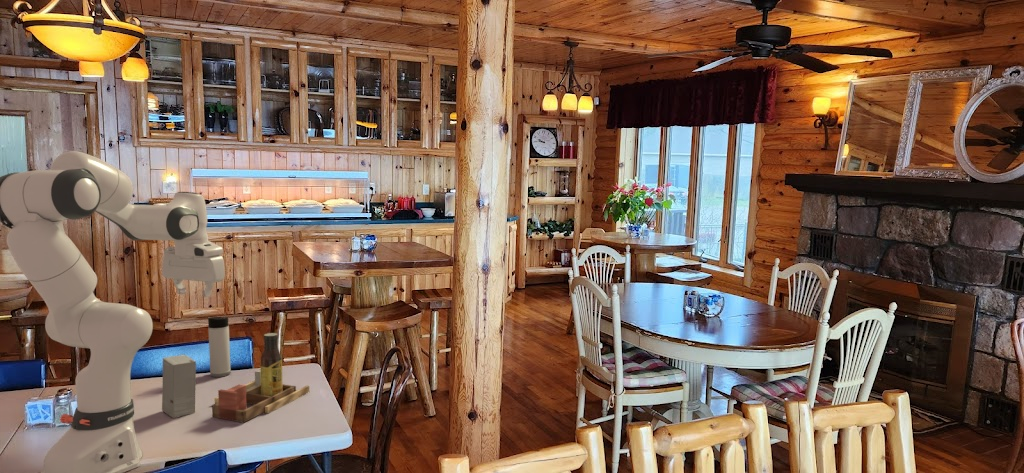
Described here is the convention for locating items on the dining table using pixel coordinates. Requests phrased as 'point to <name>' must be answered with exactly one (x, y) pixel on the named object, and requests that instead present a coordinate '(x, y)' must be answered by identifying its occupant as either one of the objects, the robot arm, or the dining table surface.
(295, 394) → the oak lane rails
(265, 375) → the sauce bottle
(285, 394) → the wooden condiment caddy
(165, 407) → the skincare box
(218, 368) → the travel mug
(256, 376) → the broken grey strip
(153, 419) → the dining table surface
